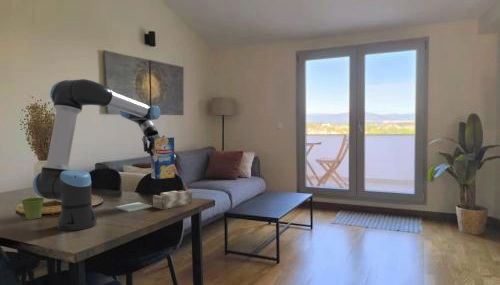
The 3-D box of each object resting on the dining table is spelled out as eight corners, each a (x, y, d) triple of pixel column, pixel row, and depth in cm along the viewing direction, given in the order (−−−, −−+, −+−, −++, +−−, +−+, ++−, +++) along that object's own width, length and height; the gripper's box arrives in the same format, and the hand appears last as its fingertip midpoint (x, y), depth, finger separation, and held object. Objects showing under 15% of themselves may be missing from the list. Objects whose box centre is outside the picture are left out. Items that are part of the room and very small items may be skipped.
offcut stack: (164, 205, 186) (164, 194, 186) (159, 204, 190) (158, 193, 189) (183, 201, 195) (183, 191, 195) (177, 200, 198) (177, 190, 198)
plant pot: (40, 220, 163) (39, 201, 163) (17, 221, 162) (17, 202, 161) (48, 215, 173) (47, 197, 172) (27, 216, 171) (26, 197, 171)
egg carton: (163, 209, 182) (163, 195, 181) (153, 206, 188) (152, 193, 188) (191, 203, 195) (191, 190, 195) (181, 201, 201) (180, 188, 201)
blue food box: (174, 177, 198) (174, 137, 197) (155, 179, 192) (154, 137, 191) (170, 175, 204) (169, 137, 203) (151, 177, 198) (150, 137, 197)
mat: (128, 211, 177) (128, 210, 177) (116, 207, 186) (115, 206, 186) (151, 207, 187) (151, 205, 187) (138, 203, 196) (138, 202, 196)
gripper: (164, 134, 216) (180, 162, 206) (128, 135, 198) (144, 165, 189) (169, 125, 212) (186, 153, 202) (133, 125, 195) (149, 156, 185)
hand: (165, 159), depth 196 cm, fingers closed on blue food box, 11 cm apart
